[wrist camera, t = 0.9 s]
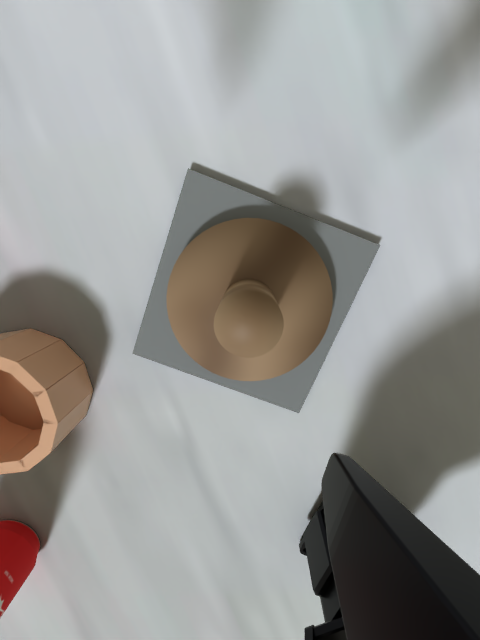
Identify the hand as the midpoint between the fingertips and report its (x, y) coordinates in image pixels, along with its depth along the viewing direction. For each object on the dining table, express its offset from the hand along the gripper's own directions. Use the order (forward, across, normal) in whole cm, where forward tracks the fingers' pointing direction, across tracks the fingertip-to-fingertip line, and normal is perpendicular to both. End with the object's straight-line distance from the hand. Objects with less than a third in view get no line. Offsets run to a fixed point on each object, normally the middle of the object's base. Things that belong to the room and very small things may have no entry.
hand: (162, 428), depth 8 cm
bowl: (+12, +12, +8) cm, 18 cm away
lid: (+12, -2, -2) cm, 12 cm away
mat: (+12, -2, -2) cm, 12 cm away
